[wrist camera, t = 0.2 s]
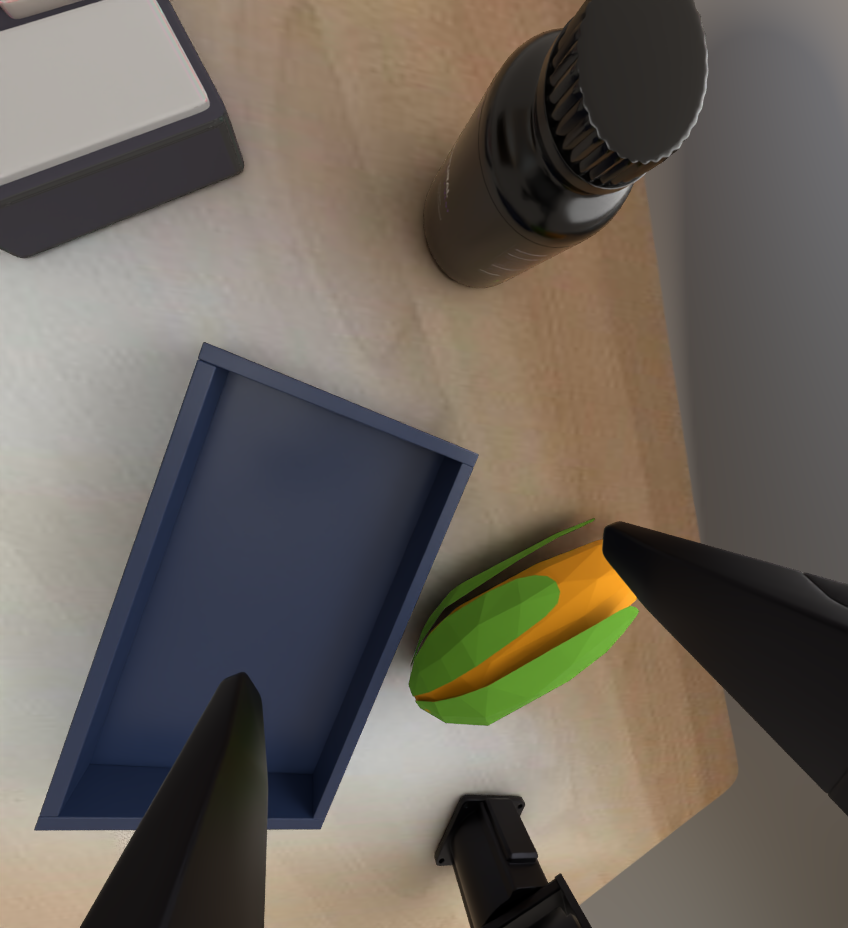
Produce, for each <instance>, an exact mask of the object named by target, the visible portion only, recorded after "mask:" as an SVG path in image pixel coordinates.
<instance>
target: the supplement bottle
mask: <svg viewBox="0 0 848 928" xmlns="http://www.w3.org/2000/svg"><path fill="white" fill-rule="evenodd" d="M705 37H706V36H705V31H704V29H703V27H702V24H701V16H700V14H699V12H698V11H697V10H696V8H695V4H694V0H586V1H585V2H584V4H583V5H582V6H581V8H580V9H579V11H578V12H577V13H576V15H575V16H574V17H573V18H572V19H571V20H570V21H569V22H568V23H567V24H566V25H565V27H564V28H559V29H553V30H550V31H546V32H543V33H541V34H539V35H536V36H534V37H532V38H531V39H529V40H528V41H526V42H525V43H523V44H522V45H521V46H520V47H518V48H517V49H516V50H515V51H514V52H513V53H512V54H511V55H510V56H509V57H508V59H507V60H506V61H505V63H504V64H503V66H502V67H501V68H500V70H499V71H498V73H497V74H496V76H495V77H494V79H493V81H492V82H491V84H490V86H489V87H488V89H487V91H486V93H485V94H484V96H483V98H482V99H481V101H480V103H479V104H478V106H477V108H476V109H475V111H474V113H473V114H472V116H471V118H470V119H469V121H468V123H467V125H466V126H465V128H464V130H463V131H462V133H461V135H460V136H459V138H458V140H457V141H456V143H455V145H454V146H453V148H452V150H451V152H450V153H449V155H448V157H447V158H446V160H445V162H444V163H443V165H442V167H441V168H440V170H439V172H438V173H437V176H436V177H435V179H434V181H433V183H432V185H431V187H430V189H429V192H428V195H427V198H426V202H425V208H424V230H425V235H426V240H427V243H428V246H429V249H430V251H431V253H432V255H433V257H434V259H435V261H436V262H437V264H438V265H439V266H440V267H441V269H442V270H443V271H444V272H445V273H446V274H447V275H448V276H450V277H451V278H452V279H454V280H455V281H457V282H459V283H461V284H463V285H466V286H469V287H474V288H487V287H492V286H495V285H498V284H500V283H503V282H505V281H507V280H509V279H511V278H513V277H515V276H517V275H519V274H521V273H523V272H525V271H527V270H528V269H530V268H532V267H534V266H536V265H538V264H540V263H542V262H544V261H546V260H548V259H550V258H552V257H554V256H556V255H558V254H559V253H561V252H563V251H565V250H567V249H569V248H571V247H573V246H575V245H577V244H579V243H581V242H583V241H584V240H586V239H588V238H589V237H591V236H593V235H594V234H596V233H597V232H599V231H600V230H601V229H602V228H604V227H605V226H606V225H607V224H608V223H609V222H610V221H611V220H612V219H613V217H614V216H615V215H616V214H617V212H618V211H619V210H620V208H621V207H622V205H623V203H624V202H625V200H626V199H627V197H628V195H629V193H630V191H631V189H632V186H633V184H634V182H636V181H637V180H638V179H640V178H641V177H642V176H643V175H644V174H645V173H646V172H648V171H649V170H651V169H652V168H654V167H656V166H657V165H658V164H660V163H662V162H663V161H665V160H666V159H667V158H668V157H669V156H670V155H672V154H673V153H674V152H676V151H677V150H678V149H679V148H680V146H681V143H682V142H683V141H685V140H686V139H687V138H688V137H689V134H690V131H691V128H692V127H693V126H694V125H695V124H696V122H697V118H698V114H699V112H700V111H701V109H702V107H703V97H704V95H705V93H706V90H707V85H706V80H707V76H708V72H709V71H708V65H707V58H708V51H707V47H706V43H705V42H706V40H705V39H706V38H705Z"/></svg>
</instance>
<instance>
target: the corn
mask: <svg viewBox="0 0 848 928" xmlns="http://www.w3.org/2000/svg"><path fill="white" fill-rule="evenodd" d="M594 520H595V518H593V519H591V520H588V521H586V522H583V523H581V524H578V525H576V526H573V527H571V528H568V529H566V530H563V531H561V532H558V533H556V534H554V535H552V536H550V537H548V538H546V539H545V540H543V541H541V542H539V543H537V544H535V545H533V546H531V547H529V548H528V549H526V550H524V551H522V552H520V553H518V554H516V555H514V556H512V557H510V558H509V559H507V560H505V561H503V562H501V563H499V564H497V565H495V566H493V567H491V568H490V569H488V570H486V571H484V572H482V573H480V574H478V575H476V576H474V577H472V578H471V579H469V580H467V581H465V582H463V583H461V584H460V585H459V586H457V587H456V588H454V589H453V590H452V591H450V593H449V594H448V595H447V596H446V597H445V599H444V600H443V601H442V602H441V604H440V605H439V606H438V607H437V609H436V610H435V611H434V612H433V613H432V615H431V616H430V617H429V619H428V620H427V622H426V624H425V626H424V628H423V630H422V632H421V635H420V638H419V641H418V644H417V647H416V650H415V654H414V657H413V660H412V663H413V661H414V663H413V667H412V672H411V674H410V680H409V687H410V690H411V693H412V695H413V696H415V699H416V703H417V704H418V706H419V707H420V708H421V709H423V710H425V711H426V712H428V713H430V714H431V715H433V716H435V717H436V718H438V719H440V720H442V721H443V722H445V723H454V724H469V725H485V726H488V725H490V724H492V723H494V722H495V721H497V720H499V719H501V718H503V717H504V716H506V715H508V714H510V713H512V712H514V711H515V710H517V709H519V708H521V707H523V706H524V705H526V704H528V703H530V702H532V701H533V700H535V699H537V698H539V697H541V696H542V695H544V694H546V693H548V692H550V691H551V690H553V689H555V688H557V687H559V686H561V685H562V684H564V683H566V682H568V681H570V680H571V679H572V678H574V677H575V676H576V675H577V674H579V673H580V672H581V671H583V670H584V669H585V668H586V667H588V666H589V665H590V664H592V663H593V662H594V661H596V660H597V659H598V658H599V657H601V656H602V655H603V654H605V653H606V652H607V651H608V650H609V649H610V647H611V646H612V645H613V644H614V643H615V642H616V641H617V639H618V638H619V637H620V636H621V635H622V634H623V633H624V631H625V630H626V629H627V628H628V626H629V625H630V624H631V622H632V621H633V620H634V619H635V617H636V616H637V615H638V612H639V611H638V609H637V608H636V607H632V606H630V605H631V604H632V603H633V602H634V601H635V600H636V599H637V597H636V596H635V595H634V593H633V592H632V591H631V590H630V588H629V587H628V586H627V585H626V584H625V582H624V581H623V580H622V579H621V577H620V576H619V575H618V574H617V572H616V571H615V570H614V569H613V568H612V566H611V565H610V564H609V563H608V561H607V560H606V559H605V557H604V555H603V552H602V544H603V539H602V540H597V541H594V542H592V543H589V544H586V545H584V546H581V547H579V548H576V549H573V550H571V551H568V552H566V553H563V554H560V555H558V556H555V557H553V558H550V559H547V560H545V561H542V562H539V563H537V564H535V565H533V566H531V567H529V568H528V569H526V570H524V571H522V572H520V573H518V574H517V575H515V576H513V577H511V578H509V579H507V580H506V581H504V582H502V583H500V584H498V585H496V586H495V587H493V588H491V589H489V590H487V591H485V592H484V593H482V594H480V595H478V596H476V597H474V598H473V599H471V600H469V601H467V602H465V603H463V604H461V605H460V606H458V607H457V608H455V609H454V610H453V611H452V612H451V613H450V614H449V615H448V616H447V617H446V618H445V619H443V620H442V621H441V622H440V623H439V624H438V625H437V626H436V627H435V628H434V629H433V630H431V631H430V633H429V634H428V636H427V638H426V640H425V641H424V643H423V645H422V647H421V648H420V650H419V652H418V654H417V655H416V653H417V651H418V648H419V646H420V643H421V641H422V640H423V639H424V637H425V636H426V634H427V633H428V631H429V630H430V628H431V627H432V626H433V624H434V623H435V621H436V620H437V618H438V617H439V615H440V614H441V612H442V611H443V610H444V608H446V607H447V606H449V605H450V604H452V603H453V602H455V601H457V600H458V599H460V598H461V597H463V596H464V595H466V594H467V593H469V592H470V591H472V590H474V589H475V588H477V587H478V586H480V585H481V584H483V583H484V582H486V581H487V580H489V579H490V578H492V577H494V576H495V575H497V574H498V573H500V572H501V571H503V570H504V569H506V568H507V567H509V566H510V565H512V564H514V563H515V562H517V561H518V560H520V559H521V558H523V557H525V556H527V555H528V554H530V553H532V552H534V551H535V550H537V549H539V548H540V547H542V546H544V545H546V544H547V543H549V542H551V541H553V540H554V539H556V538H558V537H560V536H562V535H565V534H567V533H569V532H571V531H574V530H576V529H578V528H580V527H582V526H584V525H586V524H588V523H590V522H593V521H594ZM415 656H416V657H415ZM414 658H415V659H414ZM412 663H411V665H412Z"/></svg>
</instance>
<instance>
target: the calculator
mask: <svg viewBox="0 0 848 928" xmlns="http://www.w3.org/2000/svg"><path fill="white" fill-rule="evenodd" d="M243 168H244V161H243V158H242V155H241V152H240V149H239V146H238V143H237V140H236V137H235V134H234V131H233V128H232V125H231V122H230V119H229V116H228V113H227V110H226V108H225V106H224V104H223V101H222V99H221V98H220V96H219V94H218V92H217V90H216V88H215V86H214V84H213V82H212V81H211V79H210V77H209V75H208V73H207V71H206V69H205V67H204V66H203V64H202V62H201V60H200V58H199V56H198V54H197V52H196V50H195V49H194V47H193V45H192V43H191V41H190V39H189V37H188V35H187V33H186V32H185V30H184V28H183V26H182V24H181V22H180V20H179V18H178V17H177V15H176V13H175V11H174V9H173V7H172V5H171V3H170V1H169V0H0V249H1V250H3V251H6V252H8V253H10V254H12V255H14V256H17V257H20V258H27V257H30V256H33V255H35V254H38V253H40V252H43V251H45V250H48V249H50V248H53V247H55V246H58V245H60V244H63V243H65V242H68V241H70V240H73V239H75V238H78V237H80V236H83V235H85V234H88V233H90V232H93V231H95V230H98V229H100V228H103V227H105V226H108V225H110V224H113V223H116V222H118V221H121V220H123V219H126V218H128V217H131V216H133V215H136V214H138V213H141V212H143V211H146V210H148V209H151V208H153V207H156V206H158V205H161V204H163V203H166V202H168V201H171V200H173V199H176V198H178V197H181V196H183V195H186V194H188V193H191V192H193V191H196V190H198V189H201V188H203V187H206V186H208V185H211V184H213V183H216V182H218V181H221V180H223V179H226V178H228V177H231V176H233V175H235V174H238V173H240V172H241V171H242V170H243Z"/></svg>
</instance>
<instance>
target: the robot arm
mask: <svg viewBox="0 0 848 928" xmlns="http://www.w3.org/2000/svg"><path fill="white" fill-rule="evenodd" d="M602 552H603V555H604V557H605V559H606V560H607V561H608V563H609V564H610V565H611V566H612V568H613V569H614V570H615V571H616V572H617V574H618V575H619V576H620V577H621V579H622V580H623V581H624V582H625V584H626V585H627V586H628V587H629V588H630V590H631V591H632V592H633V593H634V595H635V596H636V597H637V598H638V600H639V601H640V602H641V603H642V604H643V605H644V606H645V608H646V609H647V610H648V611H649V612H650V613H651V614H652V615H653V616H654V617H655V618H656V619H657V620H658V621H659V622H660V623H661V624H662V625H663V626H664V627H665V629H666V630H667V631H668V632H669V633H670V634H671V635H672V636H673V637H674V638H675V639H676V640H677V641H678V642H679V643H680V644H681V645H682V646H683V647H684V648H685V649H686V650H687V651H688V652H689V653H690V654H691V655H692V656H693V657H694V658H695V659H696V660H697V661H698V662H699V663H700V664H701V665H702V666H703V668H704V669H705V670H706V671H707V672H708V673H709V674H710V675H711V676H712V677H713V678H714V679H715V680H716V681H717V682H718V683H719V684H720V685H721V686H722V687H723V688H724V689H725V690H726V691H727V692H728V693H729V694H730V695H731V696H732V697H733V698H734V699H735V700H736V701H737V702H738V703H739V704H740V705H741V707H742V708H743V709H744V710H745V711H746V712H747V713H748V714H749V715H750V716H751V717H752V718H753V719H754V720H755V721H756V722H757V723H758V724H759V725H760V726H761V727H762V728H763V729H764V730H765V731H766V732H767V733H768V734H769V735H770V736H771V737H772V738H773V739H774V740H775V741H776V742H777V743H778V744H779V746H780V747H782V749H783V750H784V751H785V752H786V753H787V754H788V755H789V756H790V757H791V758H792V759H793V760H794V761H795V762H796V763H797V764H798V765H799V766H800V767H801V768H802V769H803V770H804V771H805V772H806V773H807V774H808V775H809V776H810V777H811V778H812V779H813V780H814V781H815V782H816V783H817V784H818V786H820V788H821V789H822V790H823V791H824V792H826V793H828V796H829V797H830V798H831V799H832V800H833V801H834V802H835V803H836V804H837V805H838V806H839V807H840V808H841V809H842V810H843V812H844V813H845V814H846V815H847V816H848V584H845V583H842V582H837V581H834V580H830V579H827V578H823V577H819V576H816V575H812V574H809V573H802V572H800V571H798V570H794V569H791V568H787V567H783V566H780V565H776V564H773V563H769V562H766V561H762V560H758V559H755V558H751V557H748V556H744V555H740V554H737V553H733V552H729V551H726V550H722V549H719V548H715V547H711V546H708V545H704V544H701V543H697V542H694V541H690V540H686V539H683V538H679V537H676V536H672V535H669V534H665V533H661V532H658V531H654V530H651V529H647V528H643V527H640V526H636V525H633V524H629V523H625V522H621V521H619V522H615V523H613V524H610V525H608V526H606V527H605V529H604V534H603V544H602ZM524 807H525V802H524V800H523V798H522V797H512V796H481V795H465V796H463V797H462V798H461V800H460V801H459V804H458V806H457V808H456V810H455V812H454V815H453V817H452V819H451V821H450V823H449V826H448V828H447V830H446V832H445V834H444V837H443V839H442V841H441V843H440V845H439V847H438V850H437V852H436V854H435V861H436V865H438V866H446V865H453V869H454V872H455V875H456V879H457V882H458V886H459V889H460V893H461V896H462V900H463V903H464V907H465V910H466V914H467V917H468V920H469V924H470V927H471V928H592V927H591V925H590V924H589V922H588V920H587V919H586V917H585V915H584V913H583V912H582V910H581V908H580V906H579V904H578V903H577V901H576V899H575V897H574V895H573V894H572V892H571V890H570V888H569V887H568V885H567V883H566V881H565V880H564V878H563V876H562V874H561V873H560V874H558V875H557V876H555V879H554V880H552V881H551V882H549V883H548V881H547V879H546V877H545V875H544V873H543V871H542V869H541V866H540V864H539V862H538V860H537V858H538V854H537V852H536V849H535V847H534V845H533V843H532V841H531V839H530V837H529V835H528V833H527V831H526V828H525V826H524V824H523V822H522V820H521V818H520V815H521V813H522V811H523V809H524ZM267 814H268V777H267V762H266V748H265V734H264V720H263V706H262V699H261V696H260V694H259V692H258V690H257V689H256V687H255V685H254V684H253V682H252V681H251V679H250V678H249V676H248V675H247V674H246V673H245V672H240V673H237V674H235V675H232V676H230V677H227V678H225V679H224V680H223V681H222V682H221V683H220V684H219V686H218V688H217V690H216V691H215V693H214V695H213V697H212V698H211V700H210V702H209V704H208V705H207V707H206V709H205V711H204V712H203V714H202V716H201V718H200V719H199V721H198V723H197V724H196V726H195V728H194V730H193V731H192V733H191V735H190V737H189V738H188V740H187V742H186V744H185V745H184V747H183V749H182V751H181V752H180V754H179V756H178V758H177V759H176V761H175V763H174V765H173V766H172V768H171V770H170V771H169V773H168V775H167V777H166V778H165V780H164V782H163V784H162V785H161V787H160V789H159V791H158V792H157V794H156V796H155V798H154V799H153V801H152V803H151V805H150V806H149V808H148V810H147V811H146V813H145V815H144V817H143V818H142V820H141V822H140V824H139V825H138V827H137V829H136V831H135V832H134V834H133V836H132V838H131V839H130V841H129V843H128V845H127V846H126V848H125V850H124V852H123V853H122V855H121V857H120V858H119V860H118V862H117V864H116V865H115V867H114V869H113V871H112V872H111V874H110V876H109V878H108V879H107V881H106V883H105V885H104V886H103V888H102V890H101V892H100V893H99V895H98V897H97V898H96V900H95V902H94V904H93V905H92V907H91V909H90V911H89V912H88V914H87V916H86V918H85V919H84V921H83V923H82V925H81V926H80V928H264V909H265V877H266V846H267Z"/></svg>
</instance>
